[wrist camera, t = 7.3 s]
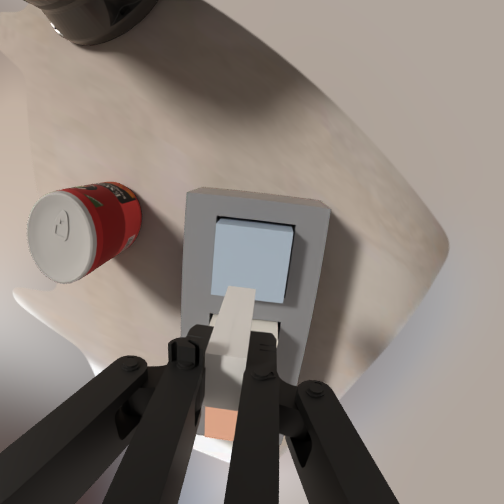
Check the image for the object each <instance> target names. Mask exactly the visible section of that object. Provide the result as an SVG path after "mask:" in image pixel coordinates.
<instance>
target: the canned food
mask: <svg viewBox="0 0 504 504" xmlns="http://www.w3.org/2000/svg"><path fill="white" fill-rule="evenodd" d="M141 222H142V213H141V207H140V204H139V201H138V200H137V198H136V196H135V195H134V194H133V192H132V191H131V190H130V189H128V188H127V187H125V186H124V185H122V184H120V183H116V182H104V183H97V184H91V185H85V186H79V187H73V188H67V189H62V190H58V191H54V192H51V193H49V194H46V195H44V196H43V197H41V198H40V199H39V200H38V201H37V202H36V203H35V205H34V206H33V208H32V210H31V213H30V215H29V219H28V224H27V241H28V246H29V250H30V253H31V256H32V258H33V260H34V262H35V264H36V265H37V267H38V268H39V269H40V271H41V272H42V273H43V274H44V275H45V276H46V277H48V278H49V279H51V280H52V281H55V282H57V283H62V284H68V283H72V282H75V281H77V280H80V279H81V278H83V277H84V276H86V275H88V274H89V273H91V272H92V271H94V270H95V269H96V268H98V267H99V266H101V265H102V264H104V263H105V262H107V261H108V260H110V259H111V258H113V257H115V256H116V255H118V254H119V253H121V252H122V251H124V250H125V249H127V248H128V247H129V246H130V245H131V244H132V243H133V242H134V241H135V239H136V237H137V235H138V233H139V230H140V227H141Z"/></svg>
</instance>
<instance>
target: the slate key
mask: <svg viewBox="0 0 504 504" xmlns="http://www.w3.org/2000/svg"><path fill="white" fill-rule="evenodd" d="M292 239H293V230H292V226H291V224H285V223H277V222H269V221H261V220H252V219H243V218H235V217H226V216H223V217H222V218H221V219H220V220H219V221H218V222H217V223H216V232H215V244H214V257H213V271H212V285H211V295H218V296H225V294H226V291H227V288H228V286H235V287H243V288H251V289H256V293H255V300H258V301H266V302H275V303H283V299H284V293H285V286H286V280H287V273H288V266H289V260H290V253H291V246H292Z"/></svg>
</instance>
